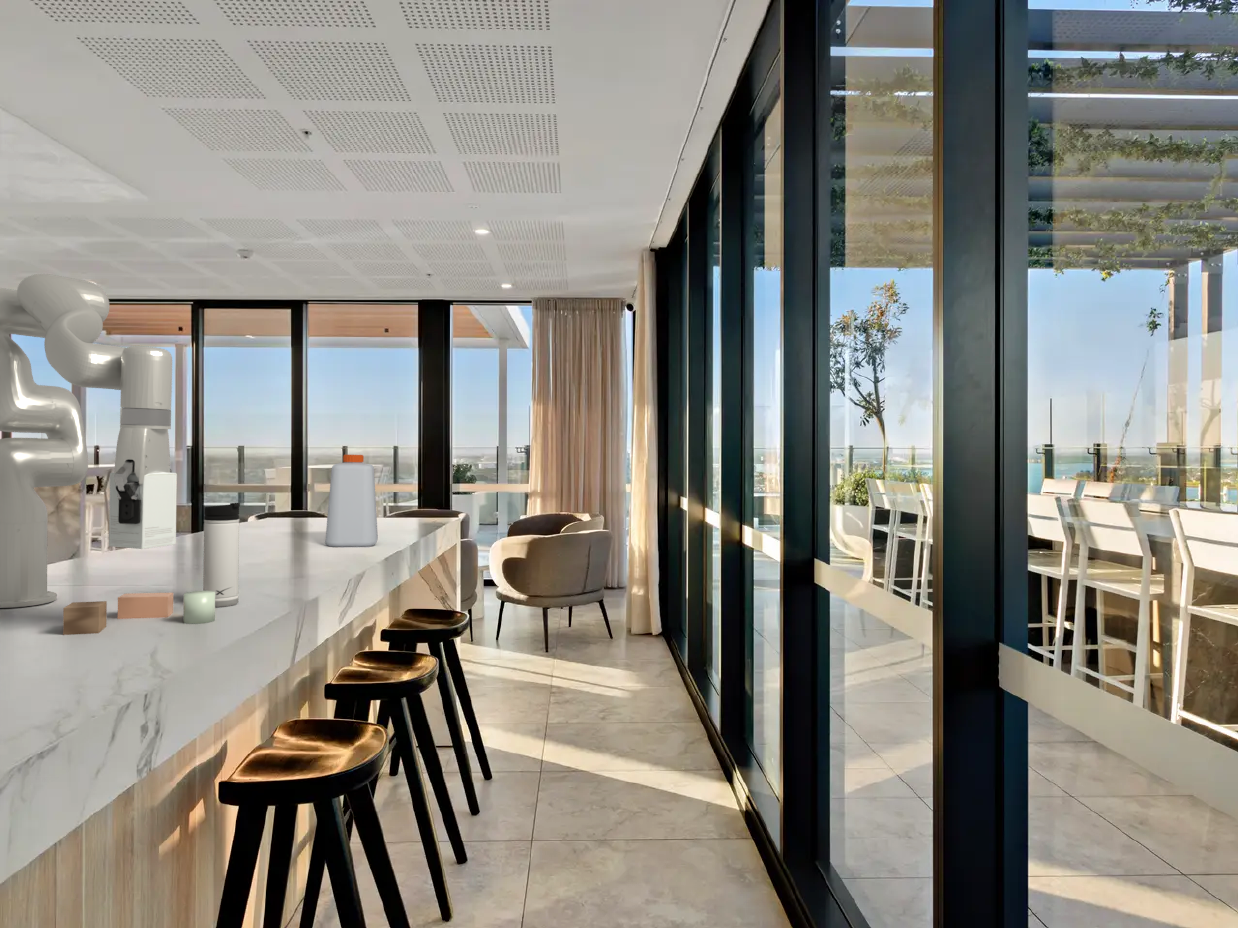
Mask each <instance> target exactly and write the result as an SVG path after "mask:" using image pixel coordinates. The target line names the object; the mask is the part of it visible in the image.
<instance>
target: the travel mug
mask: <svg viewBox="0 0 1238 928" xmlns="http://www.w3.org/2000/svg"><path fill="white" fill-rule="evenodd" d="M240 506H241V503H240V502H230V504H225V505H223V504H222V505H214V506H213V505H212V506H204V508H203V509H204V510H203V511H204V513H203V514H204V517H203V518H204V519H203V522H204V523H203V565H202V566H203V568H202V570H203V571H202V573H203V574H202V575H203V576H202V577H203V578H202V581H203V582H202V584H203V585H202V591H214V592H215V608H224V607H233V606H236V605H238V604H239V593H240V592H239V586H240V585H239V584H240V583H239V582H240V581H239V580H240V579H239V578H240V577H239V576H240V571H239V569H240V515H239V514H240Z"/></svg>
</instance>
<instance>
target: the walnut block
mask: <svg viewBox="0 0 1238 928" xmlns="http://www.w3.org/2000/svg"><path fill="white" fill-rule="evenodd" d="M107 602H108V601H107V600H103V601H100V600H99V601H97V600H96V601H76V602H75V601H73V602H71V603H69V604H67V605H66V606H65V607H63V618H62V619H63V620H62V621H63V622H62V624H63V625H62V628H63V629H62V633H63V635H62V636H68V635H69V636H71V635H91V634H92V635H93V634H99V633H101V632H102V631H103V630H104V629H106V628H107V613H108V612H107V611H108V609H107V605H108V603H107Z"/></svg>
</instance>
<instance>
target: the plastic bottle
mask: <svg viewBox="0 0 1238 928" xmlns="http://www.w3.org/2000/svg"><path fill="white" fill-rule="evenodd" d="M376 497H377V496H376V481H375V467H374V465H373V464H371V463H365V461H364V455H363V454H344V455H343V456H342V462H339V463H335V464H333V465H332V467H331V471H330V485H329V494H328V507H327V518H326V529H325V545H326V546H329V547H332V548H355V547H356V548H363V547H364V548H366V547H368V548H369V547H373V546H376V544H377V542H378V538H379V537H378V536H379V535H378V520H377V519H378V518H377V517H378V516H377V499H376Z"/></svg>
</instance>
